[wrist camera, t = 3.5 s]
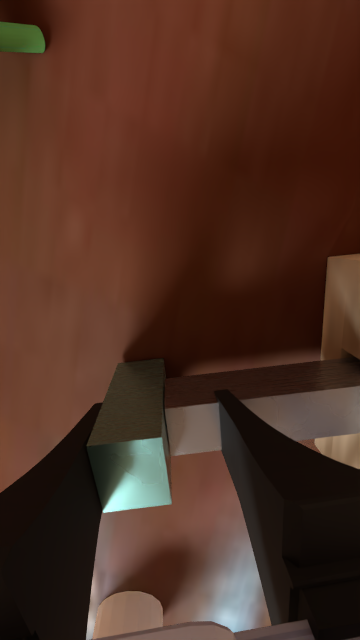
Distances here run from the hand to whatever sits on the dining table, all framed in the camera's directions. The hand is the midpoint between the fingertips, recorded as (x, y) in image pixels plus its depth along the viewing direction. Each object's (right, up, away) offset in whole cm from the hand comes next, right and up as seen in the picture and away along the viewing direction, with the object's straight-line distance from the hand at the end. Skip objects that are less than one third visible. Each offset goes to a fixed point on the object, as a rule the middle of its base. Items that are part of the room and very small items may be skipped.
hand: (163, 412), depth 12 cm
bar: (+9, +2, +3) cm, 10 cm away
